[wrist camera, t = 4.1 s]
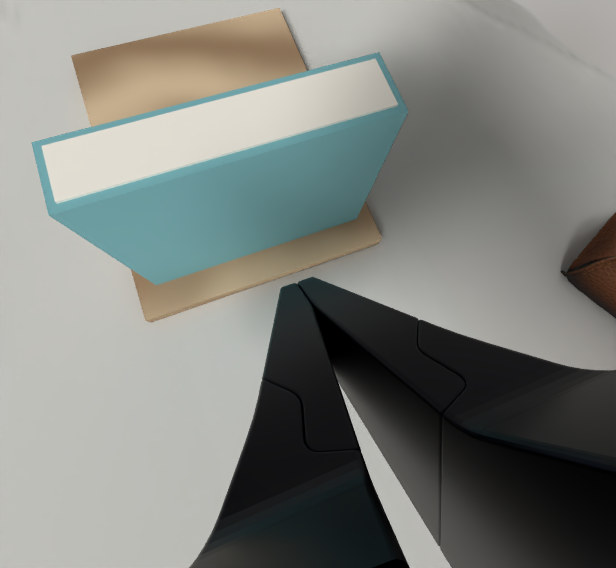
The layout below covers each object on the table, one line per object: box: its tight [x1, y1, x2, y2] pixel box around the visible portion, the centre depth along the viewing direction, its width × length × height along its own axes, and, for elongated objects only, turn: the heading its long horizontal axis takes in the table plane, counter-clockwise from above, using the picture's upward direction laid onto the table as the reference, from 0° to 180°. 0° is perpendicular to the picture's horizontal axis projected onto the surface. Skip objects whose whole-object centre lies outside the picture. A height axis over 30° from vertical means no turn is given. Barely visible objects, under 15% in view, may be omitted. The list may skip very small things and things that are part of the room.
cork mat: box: [71, 8, 382, 322], centre depth 22 cm, size 18×14×1 cm
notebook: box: [32, 52, 408, 285], centre depth 16 cm, size 3×12×9 cm, turn 111°
